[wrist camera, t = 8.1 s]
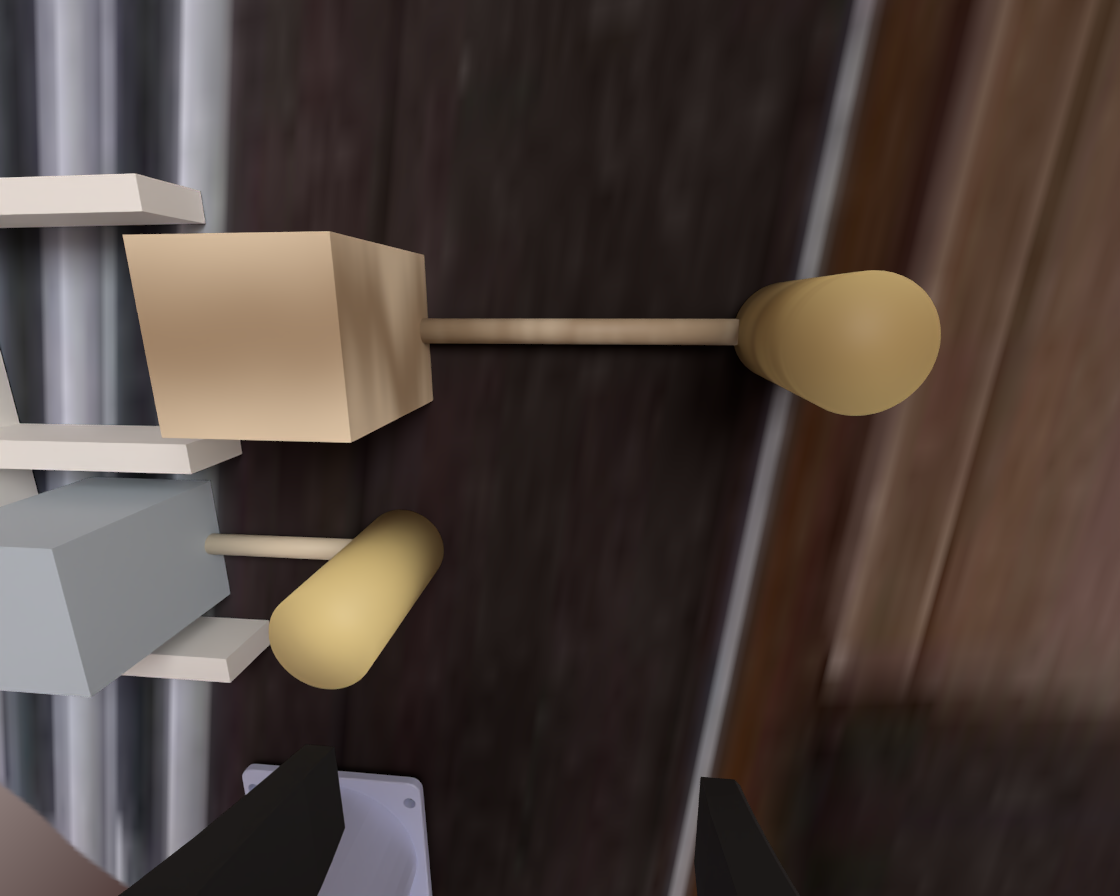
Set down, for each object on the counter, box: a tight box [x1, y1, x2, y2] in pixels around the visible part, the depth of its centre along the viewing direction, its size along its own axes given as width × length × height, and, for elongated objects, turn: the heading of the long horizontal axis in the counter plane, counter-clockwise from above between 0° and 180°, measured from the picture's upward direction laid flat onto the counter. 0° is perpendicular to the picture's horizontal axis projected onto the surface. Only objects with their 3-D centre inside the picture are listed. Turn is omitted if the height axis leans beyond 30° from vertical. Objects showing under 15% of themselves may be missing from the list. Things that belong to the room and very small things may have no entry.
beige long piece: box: [123, 231, 941, 443], centre depth 15 cm, size 5×18×6 cm, turn 90°
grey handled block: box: [0, 477, 444, 697], centre depth 18 cm, size 5×14×6 cm, turn 91°
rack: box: [0, 174, 270, 683], centre depth 19 cm, size 17×10×4 cm, turn 1°
